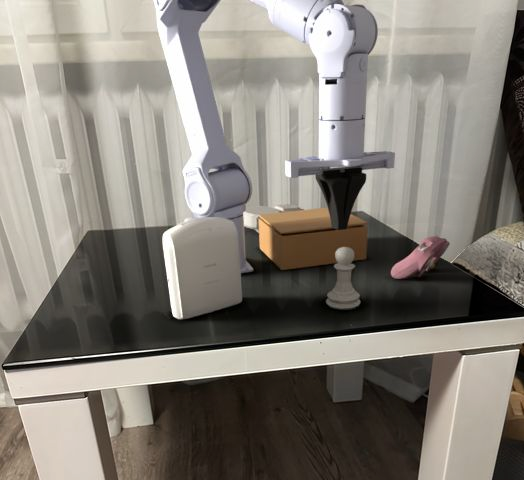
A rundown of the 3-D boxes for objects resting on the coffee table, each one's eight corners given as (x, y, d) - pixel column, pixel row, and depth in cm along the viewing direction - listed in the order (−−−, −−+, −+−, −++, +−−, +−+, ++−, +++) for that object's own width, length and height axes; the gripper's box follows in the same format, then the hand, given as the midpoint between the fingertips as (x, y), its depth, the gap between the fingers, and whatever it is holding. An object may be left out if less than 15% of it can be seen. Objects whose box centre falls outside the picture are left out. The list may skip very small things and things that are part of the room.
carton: (281, 270, 88) (280, 232, 85) (259, 248, 99) (258, 214, 96) (366, 259, 91) (368, 222, 88) (335, 239, 102) (336, 206, 99)
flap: (269, 225, 91) (269, 223, 90) (258, 216, 96) (258, 214, 96) (350, 216, 94) (351, 214, 94) (336, 208, 99) (336, 206, 99)
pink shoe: (410, 293, 81) (435, 256, 76) (386, 275, 82) (409, 237, 77) (435, 274, 88) (460, 239, 83) (413, 258, 89) (435, 222, 84)
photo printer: (180, 323, 70) (169, 229, 65) (166, 313, 74) (155, 222, 68) (247, 304, 75) (242, 215, 69) (231, 295, 78) (226, 209, 73)
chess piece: (350, 295, 77) (352, 240, 73) (366, 306, 73) (370, 249, 69) (320, 300, 76) (320, 244, 72) (335, 312, 72) (337, 254, 68)
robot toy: (289, 221, 119) (227, 226, 113) (290, 200, 117) (227, 204, 111) (319, 233, 109) (253, 239, 103) (321, 210, 107) (253, 215, 101)
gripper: (299, 125, 62) (300, 241, 68) (410, 117, 65) (402, 228, 72) (278, 121, 68) (281, 228, 74) (381, 114, 71) (376, 217, 78)
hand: (339, 227), depth 73 cm, fingers closed
